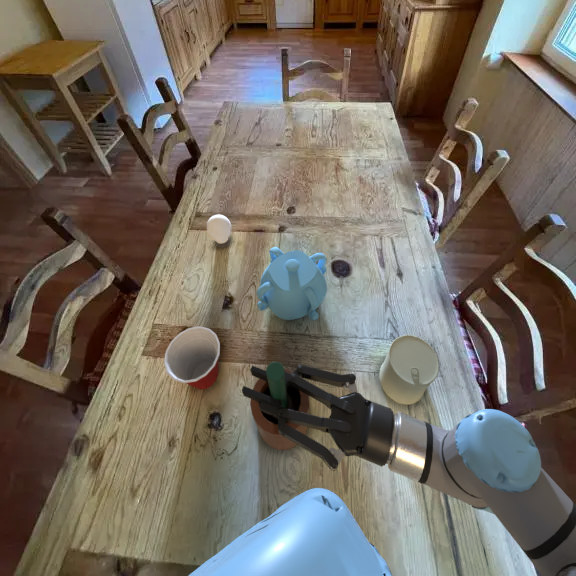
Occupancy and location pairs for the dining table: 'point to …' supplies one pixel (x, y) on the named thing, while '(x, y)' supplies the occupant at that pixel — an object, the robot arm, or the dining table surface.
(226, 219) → the light bulb
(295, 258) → the decorative pot
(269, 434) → the brown mortar
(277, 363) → the green peg on base
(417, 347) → the can
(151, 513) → the dining table surface
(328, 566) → the robot arm
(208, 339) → the plastic cup
